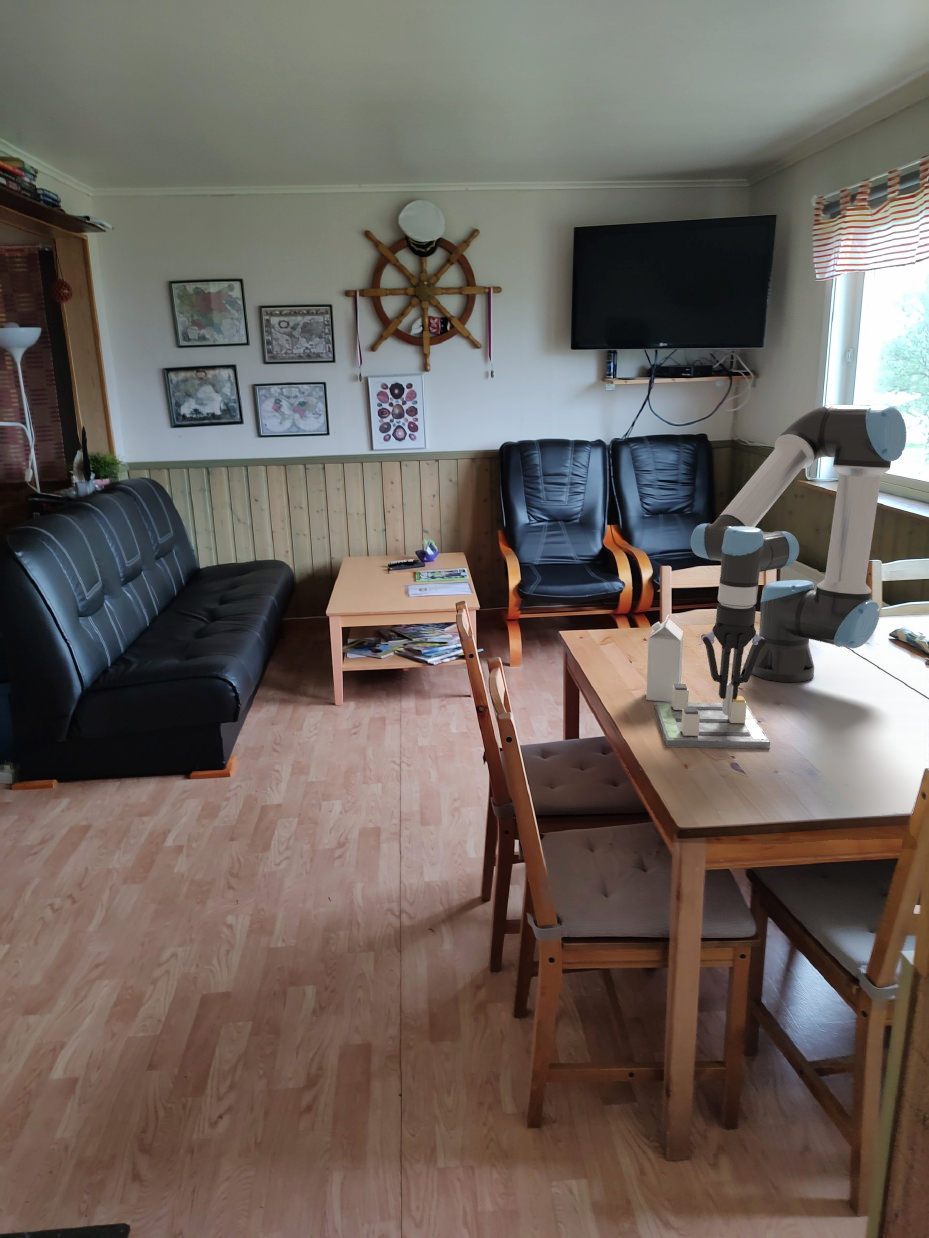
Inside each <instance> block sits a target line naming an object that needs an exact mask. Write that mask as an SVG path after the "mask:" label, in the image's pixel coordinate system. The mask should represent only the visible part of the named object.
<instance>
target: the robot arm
mask: <svg viewBox="0 0 929 1238" xmlns="http://www.w3.org/2000/svg"><path fill="white" fill-rule="evenodd" d="M906 444H907V427H906V423H905V419H904V418H903V415H902V414H901V412H900V411H899V410H898V408H895V407H894V406H890V405H881V404H877V403H876V404H827V405H823V406H819V407H817V408H814V409H812V410H810V411H808V412H806V413H805V414H804V415H802V416H801V417H799V418H797V419H796V420H794V422H792V423H791V424H790V425H788V426H787V428H786V429H785V430H784V431H782V433H781V434H780V435H779V436H778V438H777V439H776V440H775V443H774V449H773V451H772V452H771V453H770V454H769V456H768V457H766V459H765V460H764V461H763V463H762V464H761V465H760V466H759V467H758V469H757V470H756V471H755V472H754V474H753V475H752V476H751V477H750V479H748V481H747V482H746V483H745V484H744V486H742V488H741V490H739V491H738V493H737V494H736V495H735V496H734V498H733V499H732V500H731V501H730V502H729V504H727V506H726V507H725V509H724V510H723V511H722V512H721V514H719V516H718V517H717V518H716V520H715V521H714V522H713V523H710V522H708V523H701V524H699V525H697V526H696V527H695V528H694V529H693V531H692V534H691V536H690V547H691V550H692V552H693V554H694V555H696V556H698V557H700V558H703V559H707V560H710V561H719V562H720V576H719V586H718V595H717V601H718V602H719V603H717V604H716V614H715V624H714V625H713V627H712V630H711V632H709V633H707V634H705V633H703V634H701V635H700V636H701V637H700V638H701V641H702V642H703V643H704V645H705V648H706V649H705V650H706V656H707V660H708V666H709V667H708V668H709V671H710V676H711V679H712V680H713V682H714V683H715V682H717V683H719V685H718V686H719V687H718V696H719V698H720V699H721V700H722V703H723V705H722V711H723V713H724V715H731V704H732V699H736V698H737V696H739V695H738V694H739V693H738V692H739V686H740V685H741V684H743V683H748V682H749V680H750V677H751V675H753V676H755V677H758V678H760V679H763V680H767V681H772V682H781V683H798V682H806V681H809V680H811V679H813V677H814V674H815V664H814V661H813V657H812V656H813V655H812V653H811V648H810V640H813V641H816V642H822V643H825V644H829V645H832V646H833V645H834V646H835V647H838V648H847V649H848V648H849V649H857V648H860V647H862V646H864V645H865V644H866V643H867V642H868V641H869V640H870V639H871V637H872V636H873V635H874V632H875V630H876V628H877V626H878V624H879V623H878V622H879V619H880V615H881V614H880V609H879V608H880V606H879V604H878V602H877V601H875V600H873V599H872V598H871V597H872V593H873V592H872V591H873V590H872V589H871V587H870V586H868V584H867V575H868V569H869V568H868V567H869V562H870V556H871V555H870V554H871V548H872V540H873V536H874V535H873V534H874V527H875V521H876V520H875V519H876V514H877V507H878V502H879V501H878V500H879V493H880V488H881V487H880V486H881V481H882V476H884V474H885V473H887V472H888V471H889V470H890V469H891V466H892V462H894V461H896V460H897V461H898V459H899V458H900V457H902V455H903V451H904V450H905V448H906ZM820 458H833V465H832V467H833V468H834V469H835V470H836V471H837V473H838V480H837V489H836V495H835V502H834V510H833V517H832V522H831V524H832V525H831V532H830V539H829V540H830V541H829V545H828V546H829V547H828V553H827V562H826V566H825V567H826V570H825V574H824V579H823V580H822V581H820V582H818V583H817V584H816V586H815V584H814V582H813V581H810V580H806V579H805V580H804V579H791V580H790V579H789V580H777V581H773V582H770V583H769V582H768V583H767V584H765V585H764V587H763V588H762V591H761V593H762V594H761V598H760V617H759V628H758V629H759V631H758V633H757V631H756V627H755V623H756V612H757V608H756V606H755V605H756V604H757V603H758V591H759V581H760V580H759V579H760V573H763V572H766V571H767V572H768V571H772V570H776V569H777V570H779V569H783V568H785V567H787V566H790V565H792V564H793V563H794V562H795V561H796V560H797V558H798V557H799V554H800V544H799V542H798V540H797V538H796V536H795V535H793V534H792V533H791V532H788V531H783V530H782V531H778V530H775V531H772V532H771V531H770V532H767V531H763V530H762V529H761V528H758V527H756V526H757V525H758V524H759V523H760V521H761V520H762V519H763V517H764V516H766V513H768V512H769V510H770V509H771V508H772V506H773V505H774V504H775V503H776V502H777V500H778V499H779V498H780V497H781V495H782V494H783V493H784V491H786V489H787V488H788V487H789V485H791V483H792V482H793V480H794V479H795V478H796V477H797V475H799V473H800V472H801V471H802V469H806V468H809V467H810V466H811V465H812V464H813V463H814V462H815V461H816V460H817V459H820ZM815 587H816V589H815ZM715 638H716V640H717V641H718V642H719V644H720V646H721V657H720V669H719V671H718V664H717V660H716V659H717V658H716V653H715V648H714V646H713V644H715ZM750 642H751V646H750V648H749V652H748V654H747V656H746V659H745V663H744V664H743V667H742V661H743V655H744V651H745V650H744V649H745V647H746V646H747V645H748V644H749V643H750ZM732 649H733V657H732V666H731V677H730V681H729V671H730V659H731V653H732ZM741 670H742V671H741Z"/></svg>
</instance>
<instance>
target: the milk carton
mask: <svg viewBox="0 0 929 1238" xmlns="http://www.w3.org/2000/svg"><path fill="white" fill-rule="evenodd" d="M651 629H652V630H651V633H650V634H649V637H648V644H647V645H648V646H647V666H646V667H647V668H646V669H647V672H646V696H645V697H646V701H652V702H653V701H654V702H672V688H673V686H674V684H682V672H683V669H682V668H683V650H684V631H683V630H682V629H681V628H680V627H679V626H678V625H676V623H674V621H672V620H671V619H670V614H669V613H668V614H667V615H666V618H665V620H664V621H662V622H660V621H657V622H655V623H654V624H653V625H651Z"/></svg>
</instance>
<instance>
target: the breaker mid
mask: <svg viewBox="0 0 929 1238" xmlns="http://www.w3.org/2000/svg"><path fill="white" fill-rule="evenodd" d="M746 705H748V703H747V701H746V699H745V698H744V696H742V695H737V698H736V699H732V704H731V715H728V719H729V721H730V723H745V719H746Z"/></svg>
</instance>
